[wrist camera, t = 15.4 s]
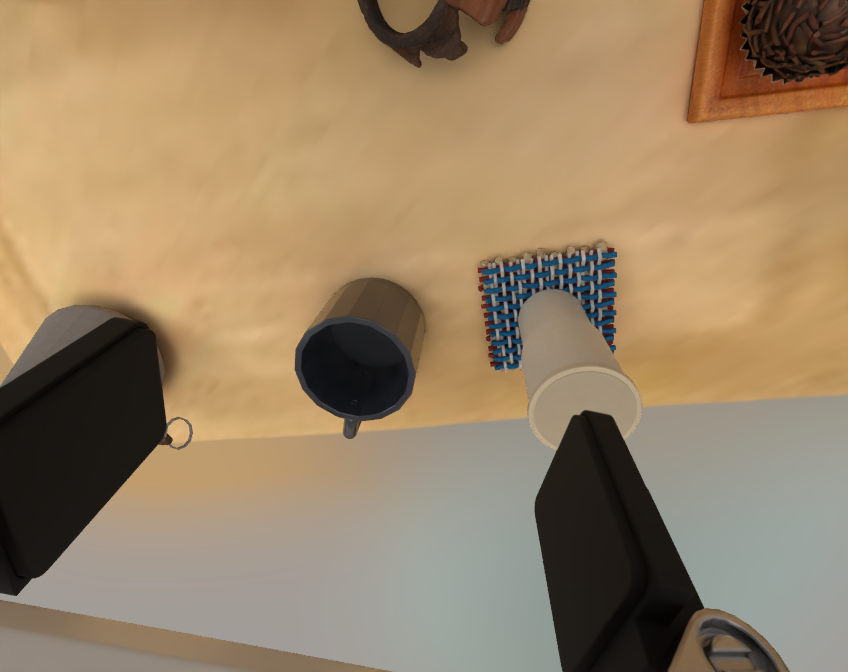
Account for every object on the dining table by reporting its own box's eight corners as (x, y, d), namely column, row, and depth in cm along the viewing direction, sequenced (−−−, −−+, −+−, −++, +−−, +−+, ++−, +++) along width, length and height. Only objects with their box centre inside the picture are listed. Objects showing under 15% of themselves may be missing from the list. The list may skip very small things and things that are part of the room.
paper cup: (503, 343, 37) (515, 444, 26) (523, 275, 34) (547, 356, 23) (574, 357, 37) (617, 465, 26) (601, 291, 34) (661, 380, 23)
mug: (330, 268, 38) (297, 305, 31) (433, 289, 38) (424, 331, 31) (320, 384, 44) (290, 438, 36) (410, 403, 43) (398, 460, 36)
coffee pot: (98, 398, 47) (-48, 512, 34) (43, 299, 42) (-154, 387, 29) (286, 387, 44) (206, 508, 31) (251, 278, 39) (137, 367, 26)
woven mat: (474, 256, 36) (474, 264, 34) (611, 236, 34) (619, 244, 33) (489, 366, 41) (489, 378, 39) (610, 353, 39) (617, 365, 37)
